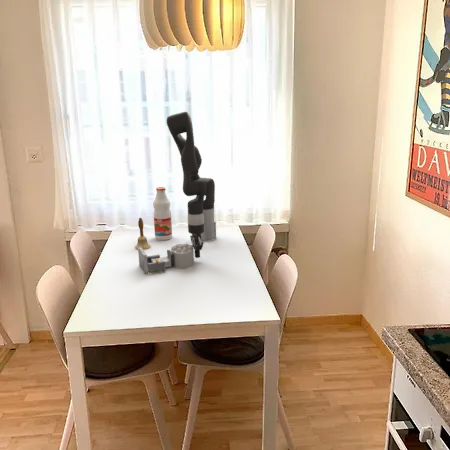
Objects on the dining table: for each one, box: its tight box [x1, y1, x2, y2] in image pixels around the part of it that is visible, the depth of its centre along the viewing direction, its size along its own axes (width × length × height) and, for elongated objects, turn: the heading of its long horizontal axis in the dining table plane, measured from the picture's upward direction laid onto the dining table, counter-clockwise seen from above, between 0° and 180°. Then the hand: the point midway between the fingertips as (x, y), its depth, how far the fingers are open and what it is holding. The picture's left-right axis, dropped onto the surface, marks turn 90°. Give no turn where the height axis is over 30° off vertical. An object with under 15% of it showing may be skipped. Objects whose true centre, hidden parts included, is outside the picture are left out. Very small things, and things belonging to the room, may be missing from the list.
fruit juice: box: [152, 186, 173, 241], centre depth 268 cm, size 9×9×28 cm
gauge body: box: [137, 247, 166, 275], centre depth 227 cm, size 10×14×9 cm
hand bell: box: [134, 217, 152, 251], centre depth 255 cm, size 8×8×16 cm
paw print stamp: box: [170, 242, 195, 269], centre depth 233 cm, size 10×13×9 cm
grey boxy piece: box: [151, 249, 175, 268], centre depth 228 cm, size 9×11×6 cm
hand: (197, 257), depth 236 cm, fingers closed
